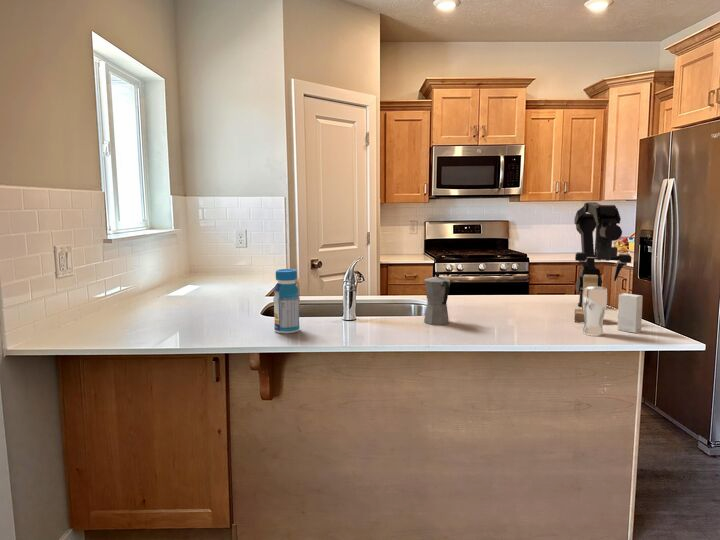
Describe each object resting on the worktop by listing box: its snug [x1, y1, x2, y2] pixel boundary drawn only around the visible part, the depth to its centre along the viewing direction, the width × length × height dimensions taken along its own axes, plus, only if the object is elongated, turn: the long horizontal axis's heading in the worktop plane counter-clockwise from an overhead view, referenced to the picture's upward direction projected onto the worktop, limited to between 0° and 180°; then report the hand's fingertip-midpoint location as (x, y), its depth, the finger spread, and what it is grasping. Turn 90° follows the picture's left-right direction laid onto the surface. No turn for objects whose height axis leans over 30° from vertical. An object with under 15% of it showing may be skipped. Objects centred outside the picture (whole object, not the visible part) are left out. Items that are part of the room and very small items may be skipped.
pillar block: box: [581, 275, 598, 313], centre depth 181 cm, size 4×4×13 cm
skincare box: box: [617, 292, 644, 334], centre depth 167 cm, size 6×4×12 cm
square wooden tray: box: [574, 308, 585, 323], centre depth 182 cm, size 9×9×3 cm
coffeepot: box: [423, 271, 451, 326], centre depth 177 cm, size 15×9×18 cm, turn 15°
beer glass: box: [582, 286, 608, 337], centre depth 163 cm, size 7×7×15 cm
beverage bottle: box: [272, 268, 301, 334], centre depth 165 cm, size 8×8×20 cm
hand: (601, 280), depth 191 cm, fingers open, 9 cm apart
